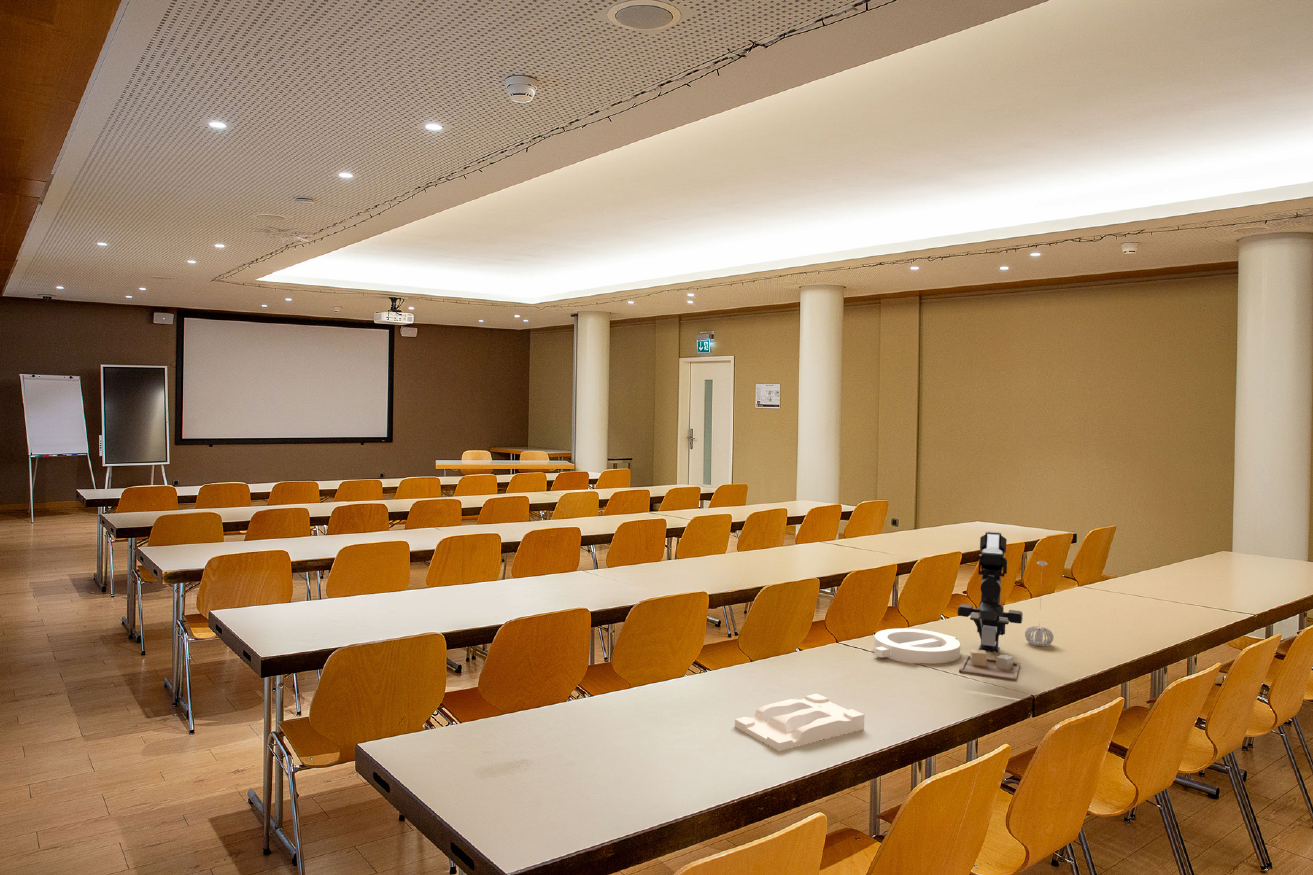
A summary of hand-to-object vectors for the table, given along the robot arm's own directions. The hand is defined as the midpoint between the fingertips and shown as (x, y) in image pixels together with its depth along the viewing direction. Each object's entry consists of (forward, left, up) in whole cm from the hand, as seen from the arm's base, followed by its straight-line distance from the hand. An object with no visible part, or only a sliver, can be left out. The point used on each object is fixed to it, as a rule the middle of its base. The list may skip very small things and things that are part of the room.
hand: (988, 640), depth 265 cm
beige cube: (-9, +4, -10) cm, 14 cm away
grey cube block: (0, 0, -1) cm, 1 cm away
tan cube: (-9, -4, -10) cm, 14 cm away
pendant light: (-46, +13, -11) cm, 49 cm away
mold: (+73, -39, -12) cm, 83 cm away
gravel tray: (-5, 0, -11) cm, 12 cm away
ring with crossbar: (-13, -24, -12) cm, 30 cm away
